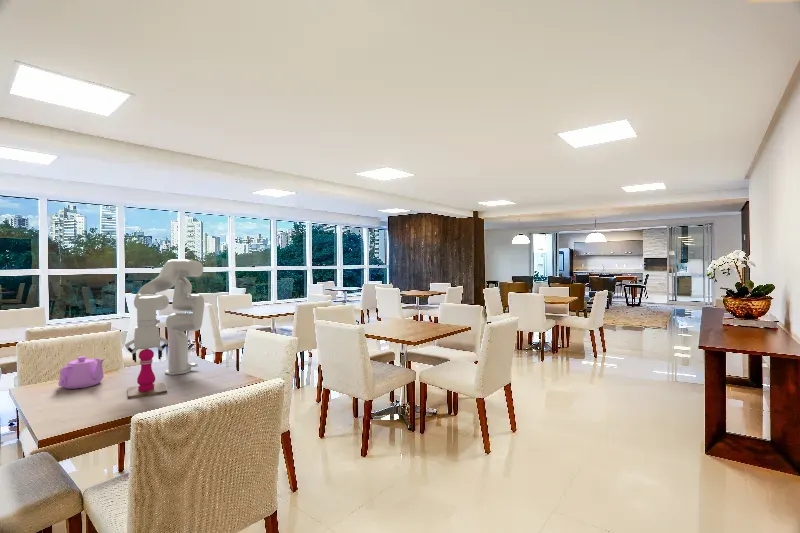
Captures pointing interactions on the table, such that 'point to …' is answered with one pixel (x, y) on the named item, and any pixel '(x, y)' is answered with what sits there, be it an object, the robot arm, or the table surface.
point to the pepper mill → (146, 371)
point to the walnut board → (157, 390)
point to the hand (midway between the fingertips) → (147, 360)
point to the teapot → (81, 373)
